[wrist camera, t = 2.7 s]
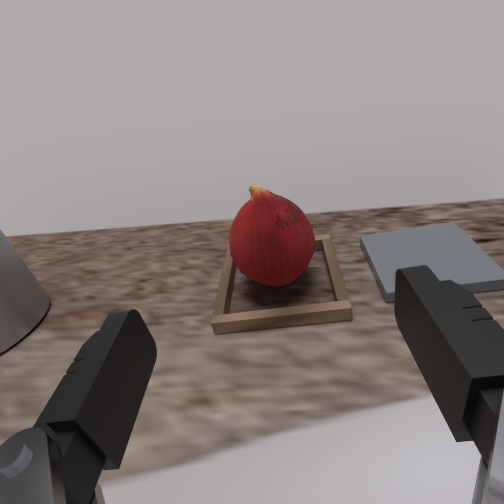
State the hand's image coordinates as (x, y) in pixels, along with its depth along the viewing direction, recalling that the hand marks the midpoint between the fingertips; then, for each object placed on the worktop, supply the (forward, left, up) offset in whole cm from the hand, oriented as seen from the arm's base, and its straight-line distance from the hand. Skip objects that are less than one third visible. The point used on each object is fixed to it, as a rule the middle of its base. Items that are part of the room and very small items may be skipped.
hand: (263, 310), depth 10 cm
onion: (-9, +7, -8) cm, 14 cm away
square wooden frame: (-9, +7, -8) cm, 14 cm away
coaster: (-3, +15, -8) cm, 17 cm away
